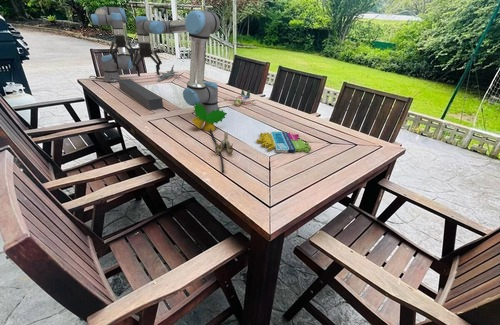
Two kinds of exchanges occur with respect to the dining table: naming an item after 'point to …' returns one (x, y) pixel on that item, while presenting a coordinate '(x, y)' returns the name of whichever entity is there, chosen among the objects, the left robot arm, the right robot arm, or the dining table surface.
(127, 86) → the wide beam
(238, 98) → the toy
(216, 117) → the ornament
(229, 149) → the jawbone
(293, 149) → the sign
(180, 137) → the dining table surface
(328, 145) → the dining table surface
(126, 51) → the left robot arm
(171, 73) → the airplane
